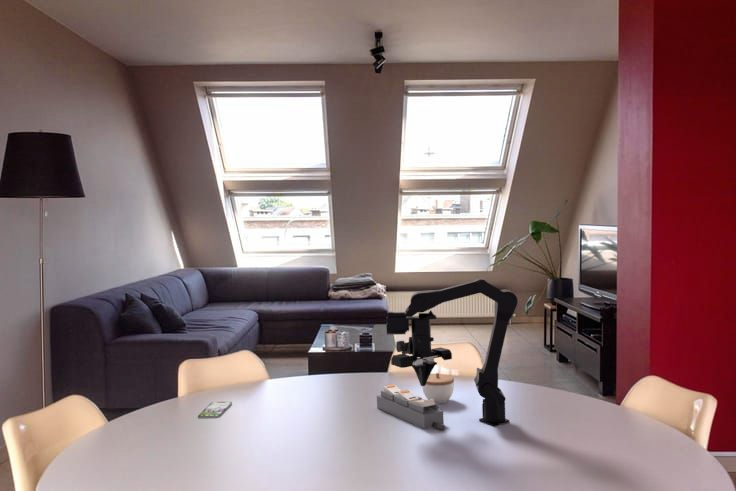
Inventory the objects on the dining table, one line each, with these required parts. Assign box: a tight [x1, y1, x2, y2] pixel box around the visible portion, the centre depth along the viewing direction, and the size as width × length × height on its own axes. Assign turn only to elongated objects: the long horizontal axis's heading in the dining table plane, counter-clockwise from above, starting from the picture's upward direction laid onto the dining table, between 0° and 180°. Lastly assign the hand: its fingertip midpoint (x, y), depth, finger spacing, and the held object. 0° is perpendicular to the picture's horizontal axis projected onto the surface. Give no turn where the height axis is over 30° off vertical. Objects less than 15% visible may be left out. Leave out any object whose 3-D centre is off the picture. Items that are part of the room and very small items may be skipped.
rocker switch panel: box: [376, 390, 445, 431], centre depth 185 cm, size 30×7×6 cm, turn 31°
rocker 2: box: [398, 389, 419, 403], centre depth 186 cm, size 6×4×2 cm, turn 31°
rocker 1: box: [412, 398, 435, 407], centre depth 180 cm, size 6×4×2 cm, turn 31°
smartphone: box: [197, 401, 233, 419], centre depth 199 cm, size 7×1×15 cm
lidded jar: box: [421, 372, 455, 405], centre depth 201 cm, size 11×11×9 cm
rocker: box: [383, 384, 403, 399], centre depth 193 cm, size 6×4×2 cm, turn 31°
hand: (422, 385), depth 179 cm, fingers closed
